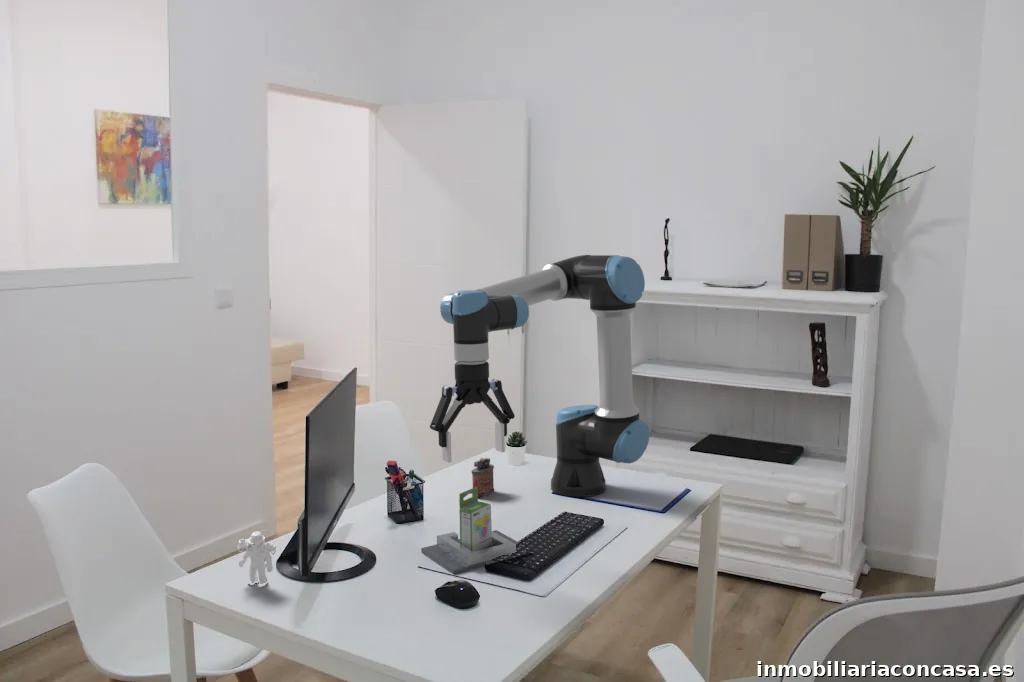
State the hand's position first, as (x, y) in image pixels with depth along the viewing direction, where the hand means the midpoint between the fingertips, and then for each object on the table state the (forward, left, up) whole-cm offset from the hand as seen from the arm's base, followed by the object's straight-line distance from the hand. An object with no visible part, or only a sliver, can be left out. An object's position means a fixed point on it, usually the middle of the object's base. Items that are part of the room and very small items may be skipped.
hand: (474, 456), depth 197 cm
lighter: (-23, -35, -23) cm, 48 cm away
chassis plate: (0, 0, -22) cm, 23 cm away
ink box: (0, 0, -22) cm, 22 cm away
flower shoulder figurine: (+46, -11, -23) cm, 53 cm away
